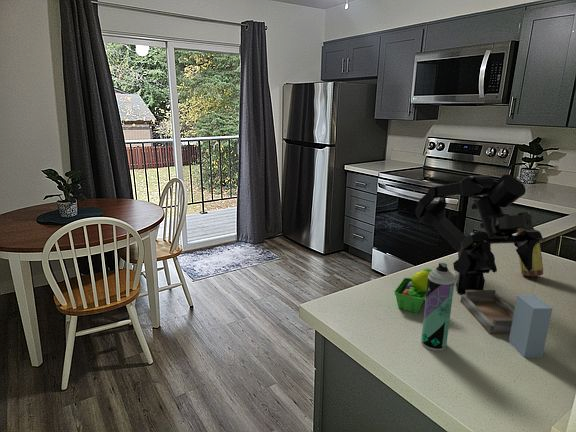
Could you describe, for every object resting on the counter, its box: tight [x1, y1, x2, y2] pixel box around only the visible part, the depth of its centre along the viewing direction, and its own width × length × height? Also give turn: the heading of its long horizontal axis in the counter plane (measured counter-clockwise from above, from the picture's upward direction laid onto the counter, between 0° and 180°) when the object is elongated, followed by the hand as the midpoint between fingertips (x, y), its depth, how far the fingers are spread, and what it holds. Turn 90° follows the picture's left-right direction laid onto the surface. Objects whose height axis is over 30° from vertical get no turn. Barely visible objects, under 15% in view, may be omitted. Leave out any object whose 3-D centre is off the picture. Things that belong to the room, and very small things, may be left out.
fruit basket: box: [393, 267, 432, 314], centre depth 105 cm, size 11×9×11 cm
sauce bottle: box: [515, 212, 544, 277], centre depth 123 cm, size 6×6×20 cm
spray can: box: [420, 262, 456, 352], centre depth 86 cm, size 6×6×20 cm
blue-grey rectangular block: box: [508, 294, 553, 359], centre depth 85 cm, size 6×4×12 cm, turn 0°
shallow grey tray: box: [460, 289, 515, 335], centre depth 100 cm, size 16×10×4 cm, turn 0°
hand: (512, 271), depth 95 cm, fingers open, 9 cm apart
